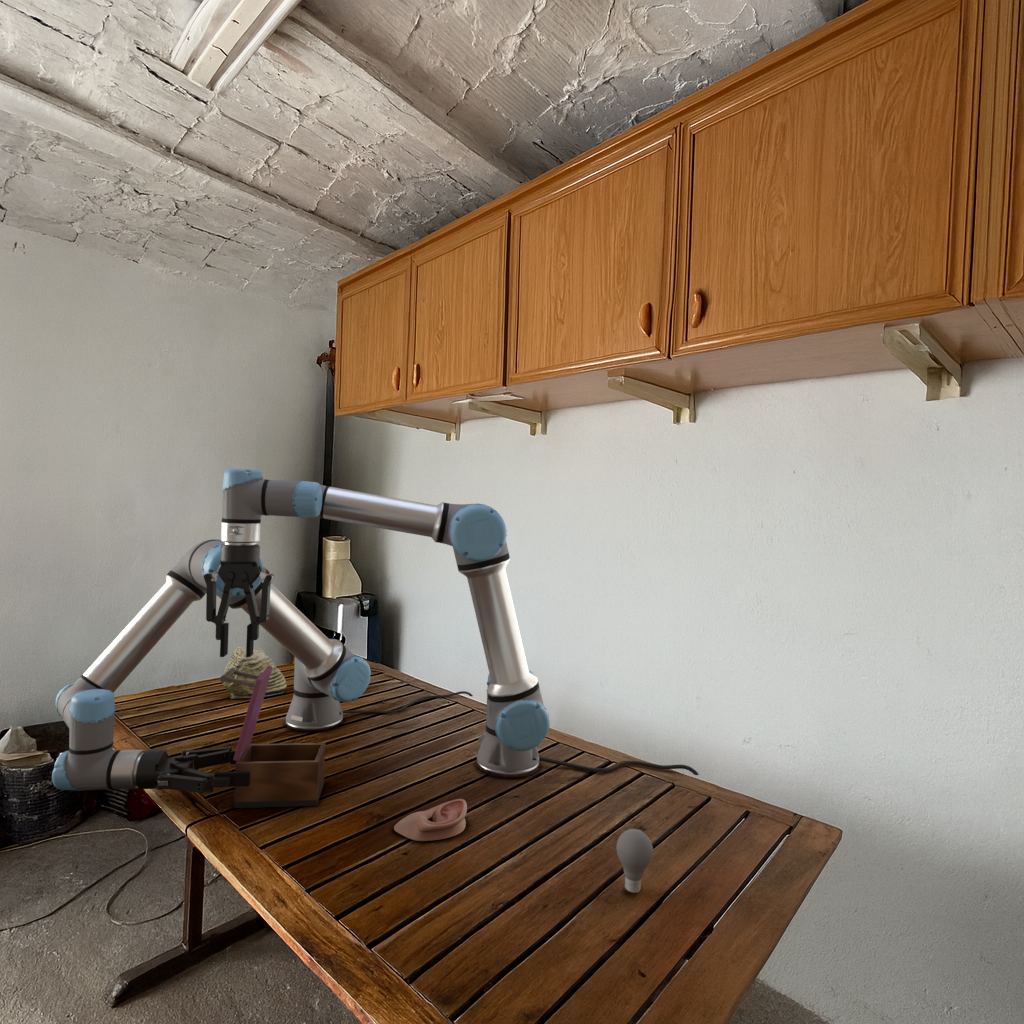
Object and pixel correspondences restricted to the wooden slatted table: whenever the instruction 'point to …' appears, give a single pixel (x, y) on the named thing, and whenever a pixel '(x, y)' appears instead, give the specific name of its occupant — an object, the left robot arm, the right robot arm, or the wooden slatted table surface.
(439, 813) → the anatomical model
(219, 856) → the wooden slatted table surface
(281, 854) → the wooden slatted table surface
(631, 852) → the light bulb
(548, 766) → the wooden slatted table surface
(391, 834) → the wooden slatted table surface
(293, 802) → the chest
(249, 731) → the lid
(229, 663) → the fossil
